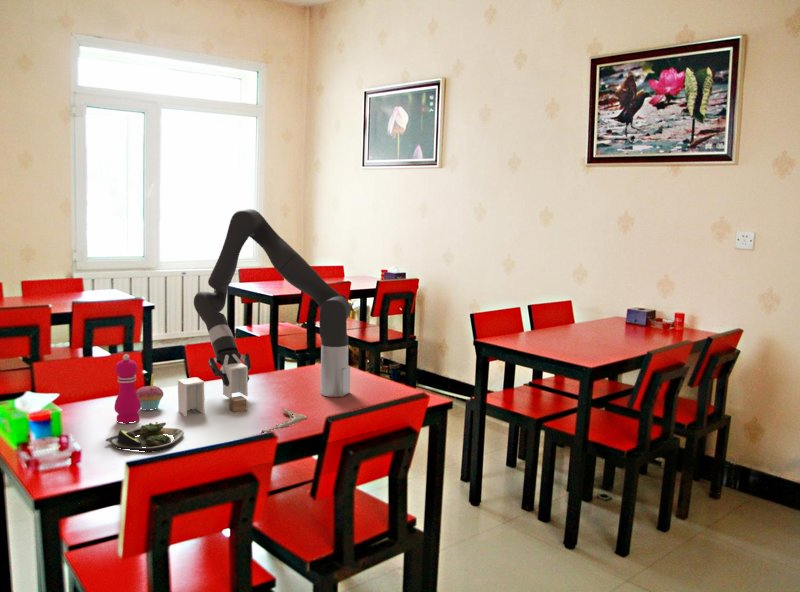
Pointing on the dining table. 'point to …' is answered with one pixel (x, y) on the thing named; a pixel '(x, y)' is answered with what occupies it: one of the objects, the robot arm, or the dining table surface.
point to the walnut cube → (237, 404)
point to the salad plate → (146, 438)
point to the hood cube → (236, 379)
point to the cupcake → (150, 396)
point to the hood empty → (190, 395)
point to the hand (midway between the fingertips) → (237, 383)
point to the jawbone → (293, 420)
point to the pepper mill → (127, 391)
